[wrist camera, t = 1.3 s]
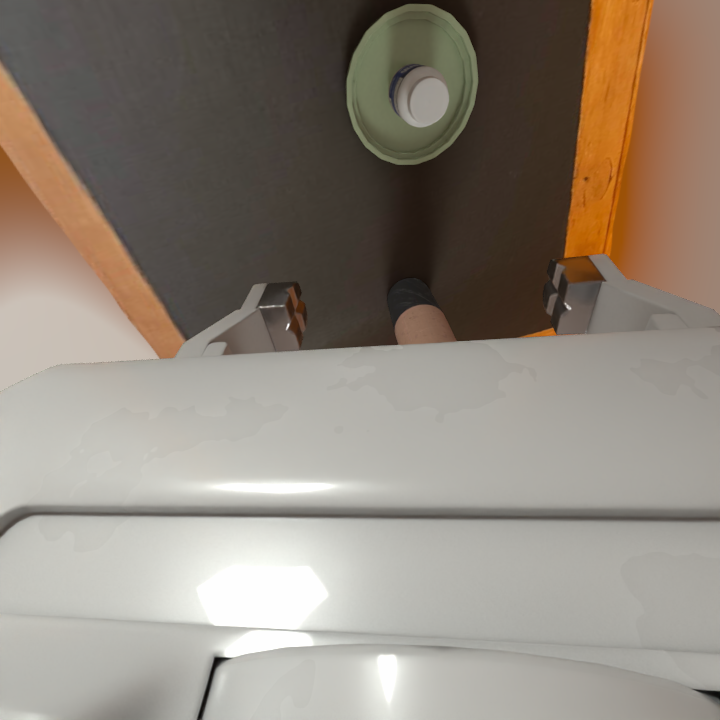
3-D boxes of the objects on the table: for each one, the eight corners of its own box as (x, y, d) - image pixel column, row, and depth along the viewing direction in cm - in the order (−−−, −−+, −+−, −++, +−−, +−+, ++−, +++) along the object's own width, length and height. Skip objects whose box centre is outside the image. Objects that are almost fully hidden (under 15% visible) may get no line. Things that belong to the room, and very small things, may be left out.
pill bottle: (436, 66, 45) (463, 72, 38) (426, 120, 49) (448, 135, 41) (391, 59, 44) (408, 63, 37) (383, 115, 48) (398, 129, 40)
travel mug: (393, 272, 61) (423, 349, 46) (438, 280, 63) (480, 358, 48) (379, 312, 66) (402, 396, 51) (421, 319, 68) (456, 402, 52)
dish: (370, -22, 40) (373, -25, 39) (495, 39, 44) (502, 39, 43) (330, 138, 49) (330, 141, 47) (438, 176, 53) (442, 180, 52)
